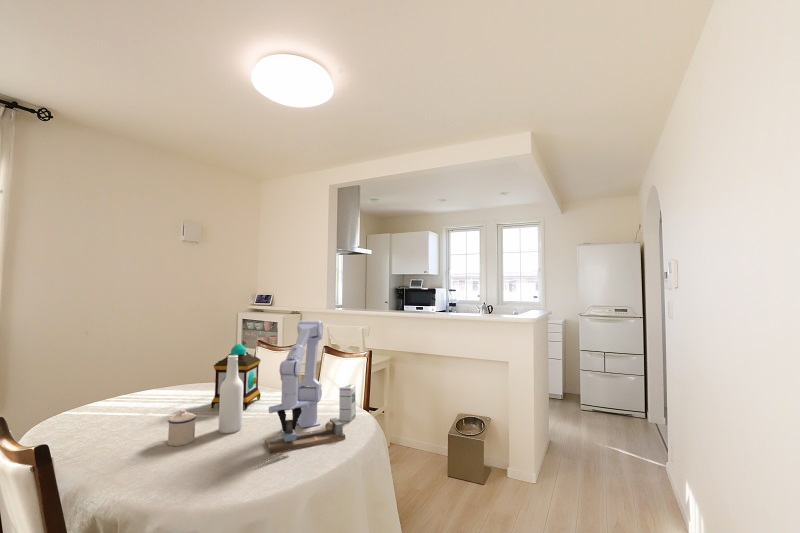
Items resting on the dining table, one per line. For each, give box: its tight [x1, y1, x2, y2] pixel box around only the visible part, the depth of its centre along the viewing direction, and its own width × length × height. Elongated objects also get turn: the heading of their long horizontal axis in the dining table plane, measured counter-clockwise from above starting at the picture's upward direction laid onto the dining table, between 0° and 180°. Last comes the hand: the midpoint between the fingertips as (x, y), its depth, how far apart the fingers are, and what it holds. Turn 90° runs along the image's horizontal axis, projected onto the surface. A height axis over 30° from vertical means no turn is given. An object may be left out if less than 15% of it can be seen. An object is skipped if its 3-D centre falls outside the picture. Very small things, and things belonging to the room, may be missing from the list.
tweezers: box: [254, 452, 290, 470], centre depth 124 cm, size 17×5×2 cm, turn 148°
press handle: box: [280, 419, 297, 442], centre depth 140 cm, size 7×4×6 cm, turn 29°
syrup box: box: [338, 384, 357, 422], centre depth 168 cm, size 6×6×14 cm
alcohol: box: [218, 355, 244, 435], centre depth 155 cm, size 9×9×30 cm
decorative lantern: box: [210, 343, 261, 410], centre depth 189 cm, size 20×20×30 cm
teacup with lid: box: [167, 409, 197, 447], centre depth 143 cm, size 12×9×12 cm
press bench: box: [264, 417, 346, 455], centre depth 143 cm, size 10×28×6 cm, turn 119°
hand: (288, 429), depth 140 cm, fingers closed on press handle, 3 cm apart
